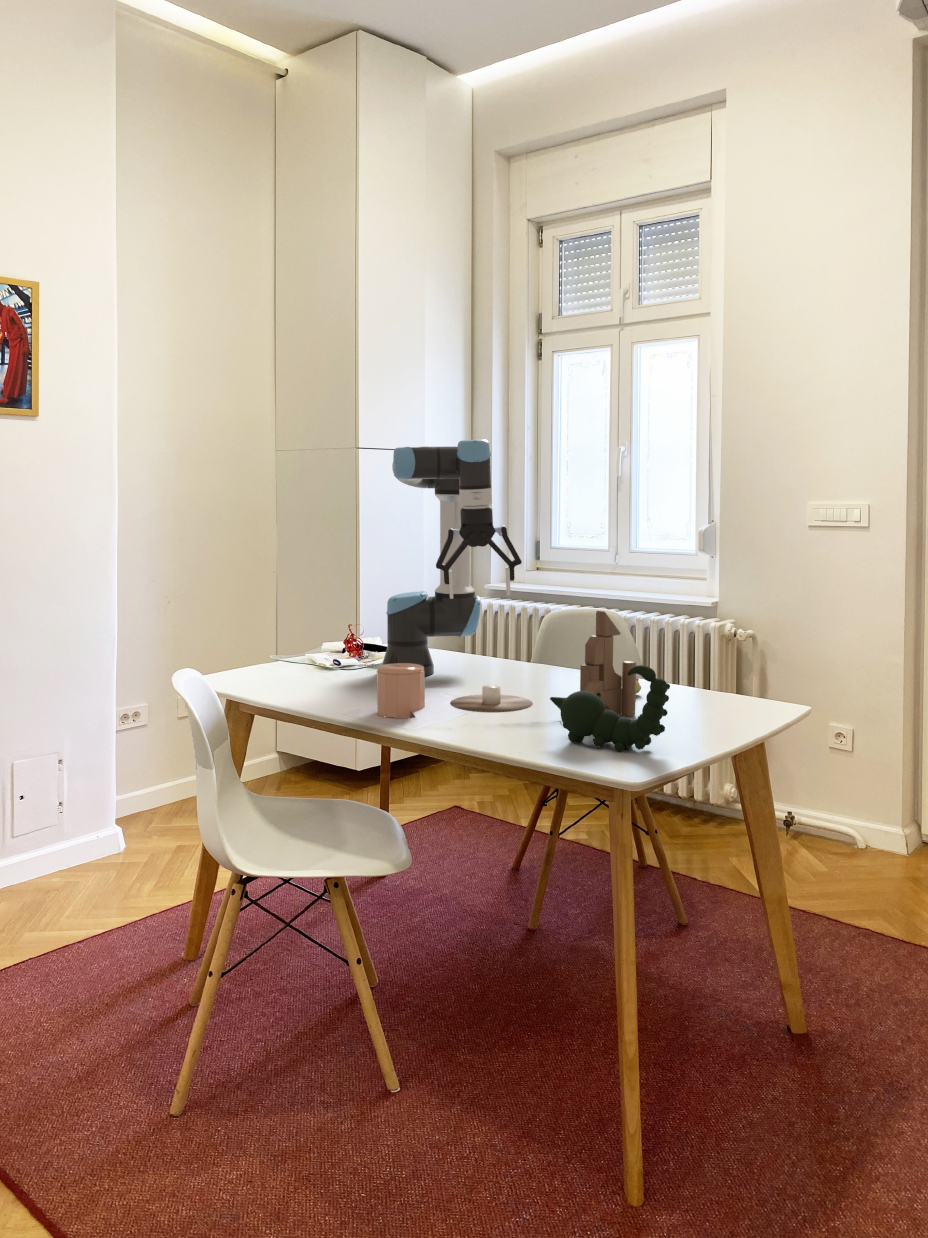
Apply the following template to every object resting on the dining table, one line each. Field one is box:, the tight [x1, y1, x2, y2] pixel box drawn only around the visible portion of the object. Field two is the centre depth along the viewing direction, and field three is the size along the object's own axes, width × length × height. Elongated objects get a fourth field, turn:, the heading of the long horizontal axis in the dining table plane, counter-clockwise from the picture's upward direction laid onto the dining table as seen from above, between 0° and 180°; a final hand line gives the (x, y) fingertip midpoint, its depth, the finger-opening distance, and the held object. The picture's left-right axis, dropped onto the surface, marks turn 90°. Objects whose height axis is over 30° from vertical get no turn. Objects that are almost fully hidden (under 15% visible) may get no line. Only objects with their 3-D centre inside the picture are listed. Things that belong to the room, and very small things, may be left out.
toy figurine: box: [549, 664, 671, 753], centre depth 197 cm, size 9×19×25 cm
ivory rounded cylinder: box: [481, 684, 502, 705], centre depth 232 cm, size 4×4×4 cm
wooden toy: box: [579, 610, 637, 718], centre depth 221 cm, size 15×7×25 cm, turn 130°
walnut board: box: [449, 693, 534, 713], centre depth 232 cm, size 20×20×2 cm
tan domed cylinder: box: [376, 663, 426, 719], centre depth 228 cm, size 11×11×11 cm
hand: (480, 596), depth 229 cm, fingers open, 13 cm apart
